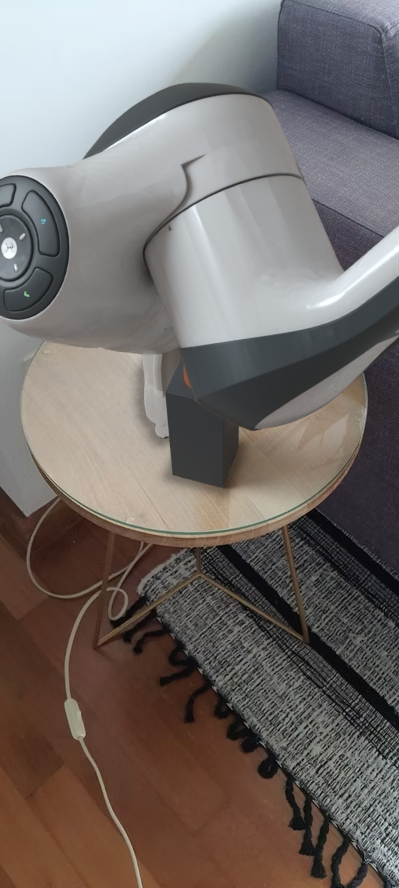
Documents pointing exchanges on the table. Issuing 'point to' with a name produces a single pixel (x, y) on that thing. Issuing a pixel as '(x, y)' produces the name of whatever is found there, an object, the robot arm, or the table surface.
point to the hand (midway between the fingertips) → (205, 311)
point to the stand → (198, 436)
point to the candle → (159, 386)
